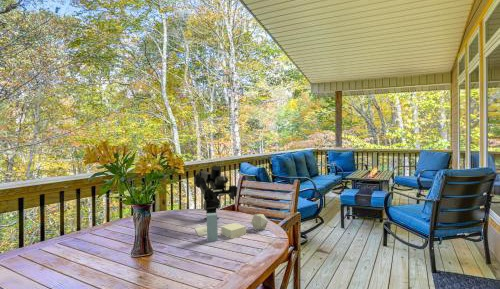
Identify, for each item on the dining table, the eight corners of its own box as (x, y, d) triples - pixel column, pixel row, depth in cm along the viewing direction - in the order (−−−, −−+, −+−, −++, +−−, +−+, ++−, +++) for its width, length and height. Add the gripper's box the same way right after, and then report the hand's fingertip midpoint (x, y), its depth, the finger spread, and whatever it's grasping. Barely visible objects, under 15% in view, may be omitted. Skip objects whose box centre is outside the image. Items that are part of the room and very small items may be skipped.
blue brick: (207, 238, 144) (206, 213, 144) (217, 237, 145) (216, 212, 144) (207, 241, 140) (206, 215, 140) (217, 240, 141) (217, 215, 140)
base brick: (221, 234, 150) (221, 226, 150) (235, 230, 156) (235, 222, 156) (231, 238, 143) (231, 230, 143) (245, 234, 149) (245, 226, 149)
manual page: (194, 228, 160) (194, 227, 160) (210, 226, 163) (210, 225, 163) (198, 235, 149) (198, 234, 149) (215, 233, 152) (215, 232, 152)
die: (264, 233, 151) (272, 216, 154) (249, 226, 151) (257, 209, 154) (261, 234, 158) (268, 218, 162) (247, 227, 158) (254, 211, 162)
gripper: (201, 174, 159) (209, 188, 146) (233, 172, 167) (243, 185, 154) (200, 192, 163) (208, 207, 150) (231, 189, 171) (241, 203, 158)
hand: (225, 200), depth 153 cm, fingers open, 9 cm apart
